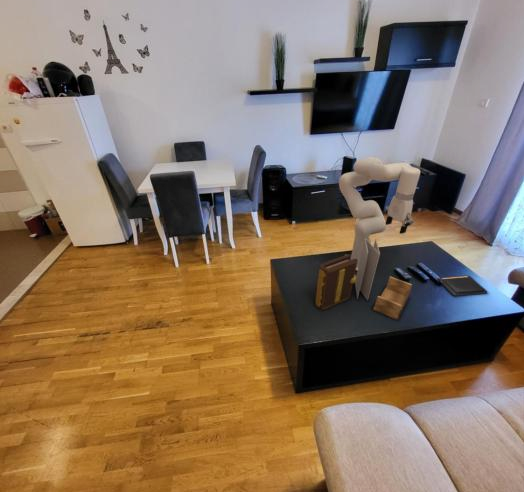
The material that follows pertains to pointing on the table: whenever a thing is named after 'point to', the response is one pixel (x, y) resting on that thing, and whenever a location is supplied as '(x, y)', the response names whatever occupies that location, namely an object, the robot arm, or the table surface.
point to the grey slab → (367, 268)
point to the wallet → (462, 286)
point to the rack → (393, 298)
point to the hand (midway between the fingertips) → (395, 228)
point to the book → (335, 281)
